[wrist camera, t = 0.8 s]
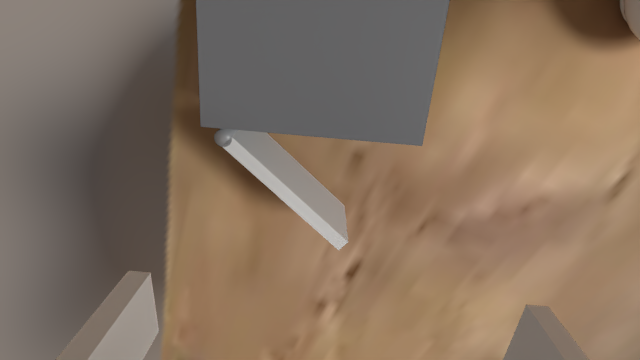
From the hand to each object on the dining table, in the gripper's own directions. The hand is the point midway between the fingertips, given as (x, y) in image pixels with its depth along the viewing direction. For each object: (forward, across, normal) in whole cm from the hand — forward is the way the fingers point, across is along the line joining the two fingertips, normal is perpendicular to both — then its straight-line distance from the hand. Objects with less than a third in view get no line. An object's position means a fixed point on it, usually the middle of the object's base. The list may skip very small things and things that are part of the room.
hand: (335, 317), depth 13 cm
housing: (+21, +2, -8) cm, 23 cm away
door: (+19, +3, +2) cm, 20 cm away
